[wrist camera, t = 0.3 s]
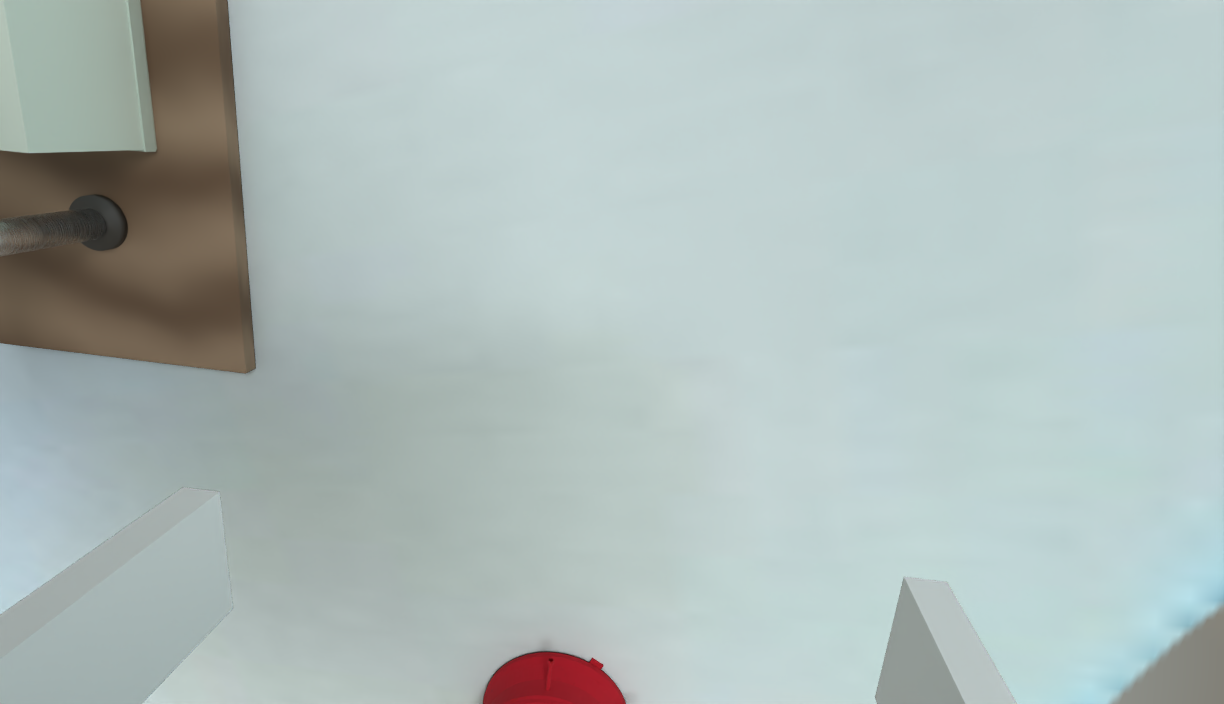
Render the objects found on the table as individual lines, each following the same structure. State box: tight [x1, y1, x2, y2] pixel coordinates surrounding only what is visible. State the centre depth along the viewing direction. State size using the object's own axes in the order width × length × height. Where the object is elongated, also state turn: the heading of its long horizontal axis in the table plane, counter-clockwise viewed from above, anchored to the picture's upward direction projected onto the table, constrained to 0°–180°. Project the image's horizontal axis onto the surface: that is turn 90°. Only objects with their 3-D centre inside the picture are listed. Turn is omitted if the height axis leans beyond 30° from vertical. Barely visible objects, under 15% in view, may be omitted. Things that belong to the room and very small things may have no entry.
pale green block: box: [0, 0, 157, 153], centre depth 34 cm, size 10×8×8 cm
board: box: [0, 0, 256, 373], centre depth 40 cm, size 24×16×2 cm
